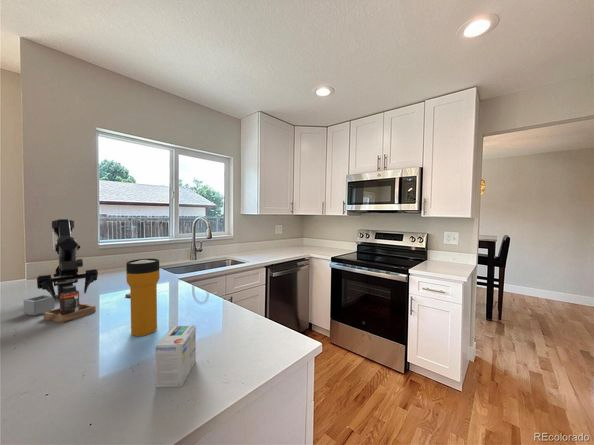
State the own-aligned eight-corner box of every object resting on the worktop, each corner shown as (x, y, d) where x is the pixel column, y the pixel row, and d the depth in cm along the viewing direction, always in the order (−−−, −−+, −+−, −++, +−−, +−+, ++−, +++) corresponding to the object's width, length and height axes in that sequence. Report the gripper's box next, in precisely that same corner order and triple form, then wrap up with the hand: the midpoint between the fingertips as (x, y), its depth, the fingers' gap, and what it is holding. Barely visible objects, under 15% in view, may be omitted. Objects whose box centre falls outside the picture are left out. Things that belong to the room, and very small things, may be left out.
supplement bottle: (82, 312, 104) (81, 285, 103) (64, 317, 98) (63, 289, 98) (75, 309, 106) (74, 283, 106) (57, 314, 101) (56, 287, 101)
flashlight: (119, 261, 85) (145, 256, 94) (120, 335, 86) (146, 323, 95) (140, 263, 82) (165, 258, 91) (141, 340, 83) (166, 327, 92)
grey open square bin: (23, 314, 103) (23, 299, 103) (44, 307, 110) (44, 294, 110) (34, 316, 101) (33, 301, 101) (55, 309, 108) (54, 296, 107)
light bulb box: (172, 362, 71) (172, 325, 71) (196, 361, 72) (196, 324, 71) (154, 388, 60) (153, 345, 60) (182, 387, 61) (182, 344, 61)
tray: (43, 318, 99) (43, 312, 99) (77, 308, 110) (77, 302, 110) (63, 323, 95) (62, 316, 95) (95, 311, 106) (95, 305, 106)
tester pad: (125, 297, 125) (125, 293, 125) (134, 293, 130) (134, 290, 130) (137, 298, 122) (137, 295, 122) (146, 295, 127) (146, 292, 127)
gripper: (36, 255, 98) (36, 289, 90) (96, 251, 111) (101, 280, 104) (37, 272, 103) (37, 305, 96) (94, 265, 117) (98, 294, 109)
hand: (70, 295), depth 101 cm, fingers open, 9 cm apart
